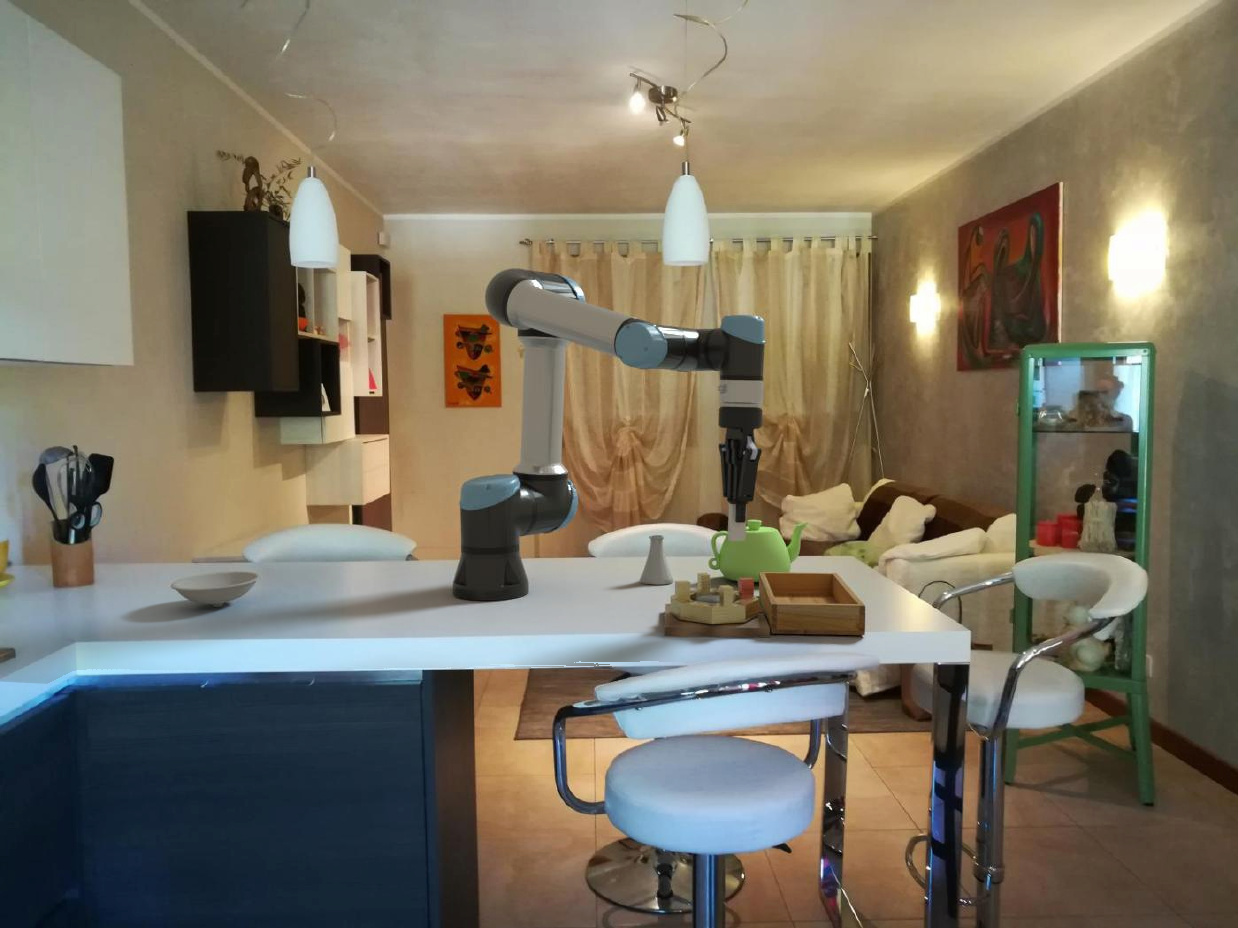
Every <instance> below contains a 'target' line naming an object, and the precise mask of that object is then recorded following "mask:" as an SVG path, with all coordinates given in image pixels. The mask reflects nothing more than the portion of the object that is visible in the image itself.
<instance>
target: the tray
mask: <svg viewBox="0 0 1238 928" xmlns="http://www.w3.org/2000/svg"><path fill="white" fill-rule="evenodd" d="M758 594H759V595H758V596H759V601H760V603H761V606H762V610H763V611H765V613H764V616H765V619H766V621H767V623H768V625H769V627H770V634H775V635H776V634H777V635H782V634H783V635H833V636H835V635H836V636H837V635H838V636H865V635H866V634H865V633H866V605H865V604H864V603H863V602H862V600H861V599H860V598H859V597H858V595H857V594H856V593H855V592H854V591H853V590H852V589H851V587H850V586H849V585H848V584H847V582H845V581H844V580H843V578H842V577H841V576H840V575H839V574H838V573H837V572H791V571H790V572H759V582H758Z"/></svg>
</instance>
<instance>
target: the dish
mask: <svg viewBox="0 0 1238 928" xmlns="http://www.w3.org/2000/svg"><path fill="white" fill-rule="evenodd" d="M261 577H262V575H261V574H260V573H258V572H254V571H245V570H244V571H242V570H238V571H233V570H232V571H219V572H210V573H203V574H197V575H191V576H188V577H185V578H181V579H177V580H176V581H173V582H172V583H171V584H170V588H171V589H173V590H176V591H177V592H178V593H179V594H180V595H181V596H182V597H183V598H184V599H186V600H188V601H190V602H191V603H195V604H200V605H212V607H214V608H215V607H216V608H220V607H223V605H224V603H229V602H231V601H235V600H238V599H239V598H241V597H244V596H245V594H247V593H248V592H250V590H251V589H252V588H253V587H254V586H255V584H256V583H257V581H259V580H260V579H261Z"/></svg>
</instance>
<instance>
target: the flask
mask: <svg viewBox="0 0 1238 928" xmlns="http://www.w3.org/2000/svg"><path fill="white" fill-rule="evenodd" d="M648 537H649V539H650V546H649V550H648V551H649V552H648V555H647V559H646V561H645V564H644V568H643V571H642V573H641V575H640V579H639V582H640V583H642V584H644V585H645V584H646V585H647V584H648V585H656V586H657V585H669V584H671V583H673V582H674V579H673V575H672V572H671V570H670V567H669V565H668V562H667V558H666V555H665V550H664V539H665V535H663V534H650V535H648Z"/></svg>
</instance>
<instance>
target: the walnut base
mask: <svg viewBox="0 0 1238 928" xmlns="http://www.w3.org/2000/svg"><path fill="white" fill-rule="evenodd" d="M697 602H704V603H712V604H714V603H719V596H716V595H709V596H701V597H698V598H697ZM770 634H771V630H770V627H769V624H768V621H767V618H766V615H765V611H764V609H762V608H761V606H760V604H759V615H758V616H756V617H754V618H752V619H750V620H748V621H746V622H739V623H722V624H708V623H700V622H693V621H686V620H680V619H679V618H678V617H676V616H675V615H674V614H673V613H671V603H665V604H664V636H665V637H713V638H714V637H716V638H717V637H718V638H719V637H721V638H722V637H723V638H725V637H726V638H727V637H729V638H730V637H731V638H732V637H733V638H734V637H735V638H770V637H771V635H770Z"/></svg>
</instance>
